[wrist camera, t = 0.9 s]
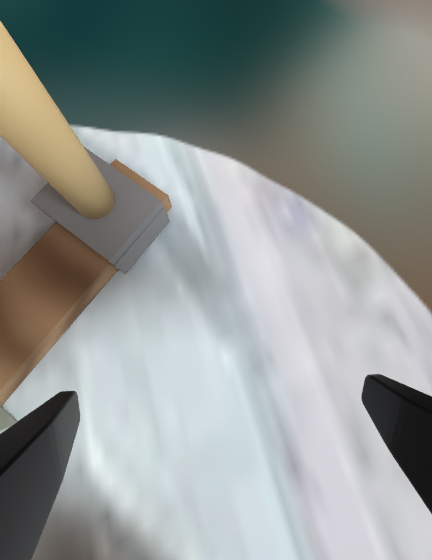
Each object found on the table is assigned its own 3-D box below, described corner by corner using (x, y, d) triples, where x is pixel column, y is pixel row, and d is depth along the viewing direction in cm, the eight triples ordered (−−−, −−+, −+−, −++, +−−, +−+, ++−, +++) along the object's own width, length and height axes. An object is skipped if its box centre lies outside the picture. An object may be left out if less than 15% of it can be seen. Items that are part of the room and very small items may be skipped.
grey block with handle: (125, 273, 24) (-55, 130, 8) (54, 220, 25) (-227, 1, 9) (169, 221, 25) (89, 4, 9) (100, 172, 26) (-79, -98, 10)
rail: (1, 406, 22) (-20, 412, 20) (-51, 359, 23) (-76, 360, 21) (171, 206, 26) (168, 195, 24) (122, 172, 27) (115, 159, 25)
